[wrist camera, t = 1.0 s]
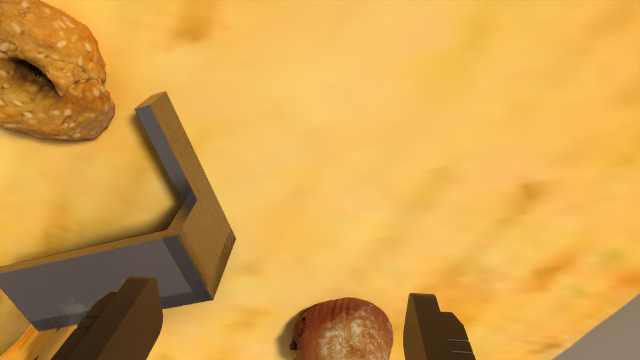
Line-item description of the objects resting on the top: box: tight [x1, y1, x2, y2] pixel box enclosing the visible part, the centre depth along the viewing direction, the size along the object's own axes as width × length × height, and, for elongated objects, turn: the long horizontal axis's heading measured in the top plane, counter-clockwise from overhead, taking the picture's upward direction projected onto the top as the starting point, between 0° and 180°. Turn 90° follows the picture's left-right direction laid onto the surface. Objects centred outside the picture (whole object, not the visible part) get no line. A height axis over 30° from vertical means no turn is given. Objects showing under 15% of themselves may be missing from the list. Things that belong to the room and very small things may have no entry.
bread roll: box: [289, 297, 393, 360], centre depth 41 cm, size 10×10×8 cm
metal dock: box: [0, 91, 236, 332], centre depth 33 cm, size 14×16×8 cm
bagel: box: [0, 0, 115, 140], centre depth 29 cm, size 10×11×5 cm
